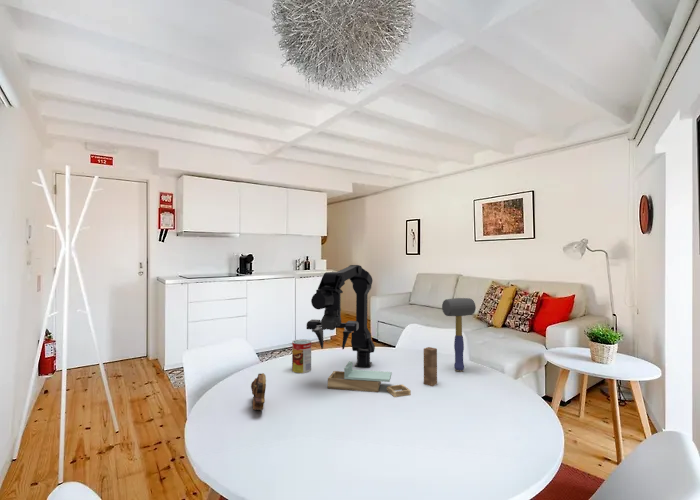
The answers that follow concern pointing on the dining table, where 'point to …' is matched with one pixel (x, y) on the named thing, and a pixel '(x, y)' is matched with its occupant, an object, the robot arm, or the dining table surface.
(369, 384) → the wooden tray
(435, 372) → the brown block
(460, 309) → the rubber mallet
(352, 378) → the lid
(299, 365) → the canned food
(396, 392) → the frame
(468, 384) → the dining table surface
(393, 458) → the dining table surface
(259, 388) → the wooden carving
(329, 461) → the dining table surface
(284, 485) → the dining table surface
